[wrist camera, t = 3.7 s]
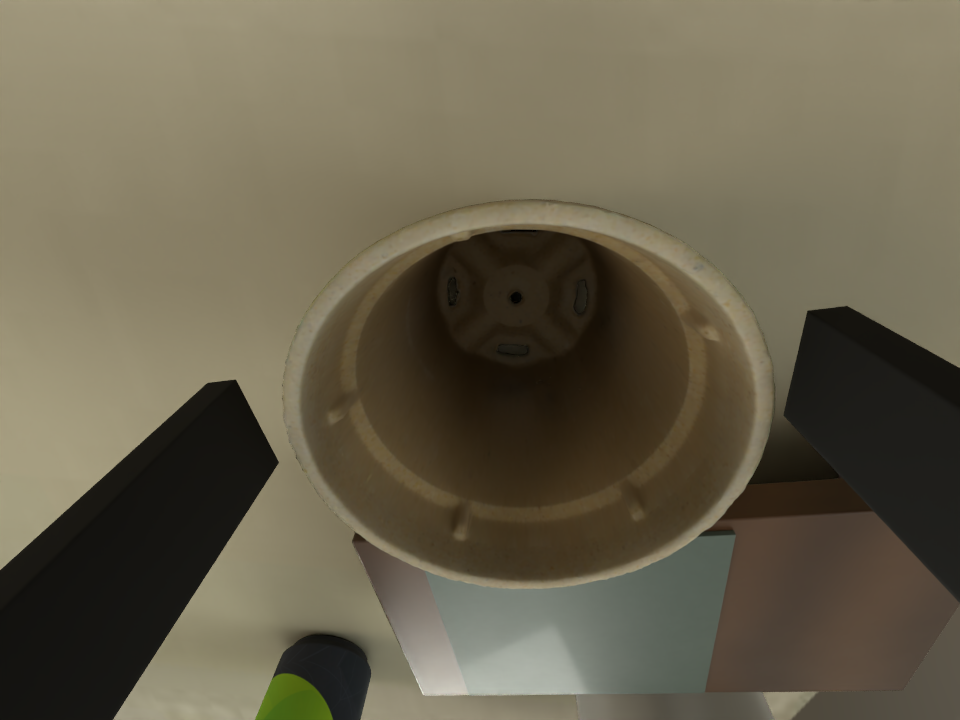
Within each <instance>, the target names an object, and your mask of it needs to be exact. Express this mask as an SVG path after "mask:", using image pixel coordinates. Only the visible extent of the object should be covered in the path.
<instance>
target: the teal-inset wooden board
mask: <svg viewBox="0 0 960 720" xmlns="http://www.w3.org/2000/svg"><path fill="white" fill-rule="evenodd" d="M352 543H353V545H354V548H355V550H356V552H357V554H358V556H359V558H360V560H361V563H362V565H363V567H364V569H365V571H366V573H367V575H368V578H369V580H370V582H371V584H372V586H373V588H374V590H375V593H376V595H377V597H378V599H379V601H380V603H381V605H382V608H383V610H384V612H385V614H386V616H387V618H388V620H389V623H390V625H391V627H392V629H393V631H394V633H395V635H396V638H397V640H398V642H399V644H400V646H401V648H402V650H403V653H404V655H405V657H406V659H407V661H408V663H409V665H410V668H411V670H412V672H413V674H414V676H415V678H416V680H417V683H418V685H419V687H420V689H421V691H422V693H423V695H566V694H667V693H706V692H805V691H900V690H904V688H905V687H906V685H907V684H908V682H909V681H910V679H911V678H912V676H913V674H914V673H915V671H916V670H917V668H918V667H919V665H920V664H921V662H922V661H923V659H924V658H925V656H926V655H927V653H928V652H929V650H930V648H931V647H932V646H933V644H934V643H935V641H936V640H937V638H938V637H939V635H940V634H941V632H942V630H943V629H944V628H945V626H946V625H947V623H948V622H949V620H950V618H951V617H952V615H953V614H954V613H955V611H956V609H957V608H958V606H959V605H960V603H959V602H958V601H957V600H956V599H955V598H954V596H953V595H952V594H951V593H950V592H949V591H948V590H947V589H946V588H945V587H944V586H943V585H942V584H941V583H940V582H939V580H938V579H937V578H936V577H935V576H934V575H933V574H932V573H931V572H930V571H929V570H928V569H927V568H926V567H925V566H924V564H923V563H922V562H921V561H920V560H919V559H918V558H917V557H916V556H915V555H914V554H913V553H912V552H911V551H910V550H909V549H908V547H907V546H906V545H905V544H904V543H903V542H902V541H901V540H900V539H899V538H898V537H897V536H896V535H895V534H894V533H893V531H892V530H891V529H890V528H889V527H888V526H887V525H886V524H885V523H884V522H883V521H882V520H881V519H880V518H879V517H878V515H877V514H876V513H875V512H874V511H873V510H872V509H871V508H870V507H869V506H868V505H867V504H866V503H865V502H864V501H863V499H862V498H861V497H860V496H859V495H858V494H857V493H856V492H855V491H854V490H853V489H852V488H851V487H850V486H849V485H848V484H847V482H846V481H845V480H844V479H843V478H842V477H841V476H840V475H839V476H838V479H823V480H809V481H794V482H779V483H765V484H750V485H746V488H745V490H744V491H743V492H742V493H741V494H740V495H739V497H738V498H737V499H735V500H734V502H733V504H732V505H730V506H729V508H728V509H727V510H726V512H725V514H724V515H723V516H722V517H721V518H720V519H719V520H718V521H717V522H716V523H715V524H714V525H713V526H712V527H710V528H709V529H707V530H705V531H703V532H702V533H701V534H700V535H699V536H698V537H697V538H696V539H694V540H693V541H691V542H690V543H688V544H687V545H686V546H684V547H682V548H681V549H679V550H678V551H676V552H674V553H672V554H671V555H670V556H668V557H665V558H663V559H661V560H658V561H657V562H654V563H651V564H650V565H648V566H645V567H643V568H642V569H638V570H636V571H634V572H631V573H626V574H624V575H621V576H616V577H612V578H608V579H607V580H597V581H593V582H589V583H585V584H579V585H575V586H567V587H557V588H549V589H548V588H544V589H534V588H533V589H509V588H505V589H504V588H496V587H494V588H491V587H488V586H486V587H483V586H479V585H476V584H472V583H465V582H463V581H454V580H450V579H447V578H445V577H441V576H438V575H434V574H432V573H430V572H428V571H424V570H422V569H420V568H418V567H414V566H412V565H410V564H409V563H406V562H403V561H402V560H400V559H398V558H396V557H394V556H391V555H390V554H388V553H386V552H384V551H382V550H380V549H379V548H377V547H376V546H374V545H372V544H371V543H370V542H369V541H366V540H365V538H363V537H362V536H361V535H359V534H358V533H355V535H354V538H353V541H352Z"/></svg>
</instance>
